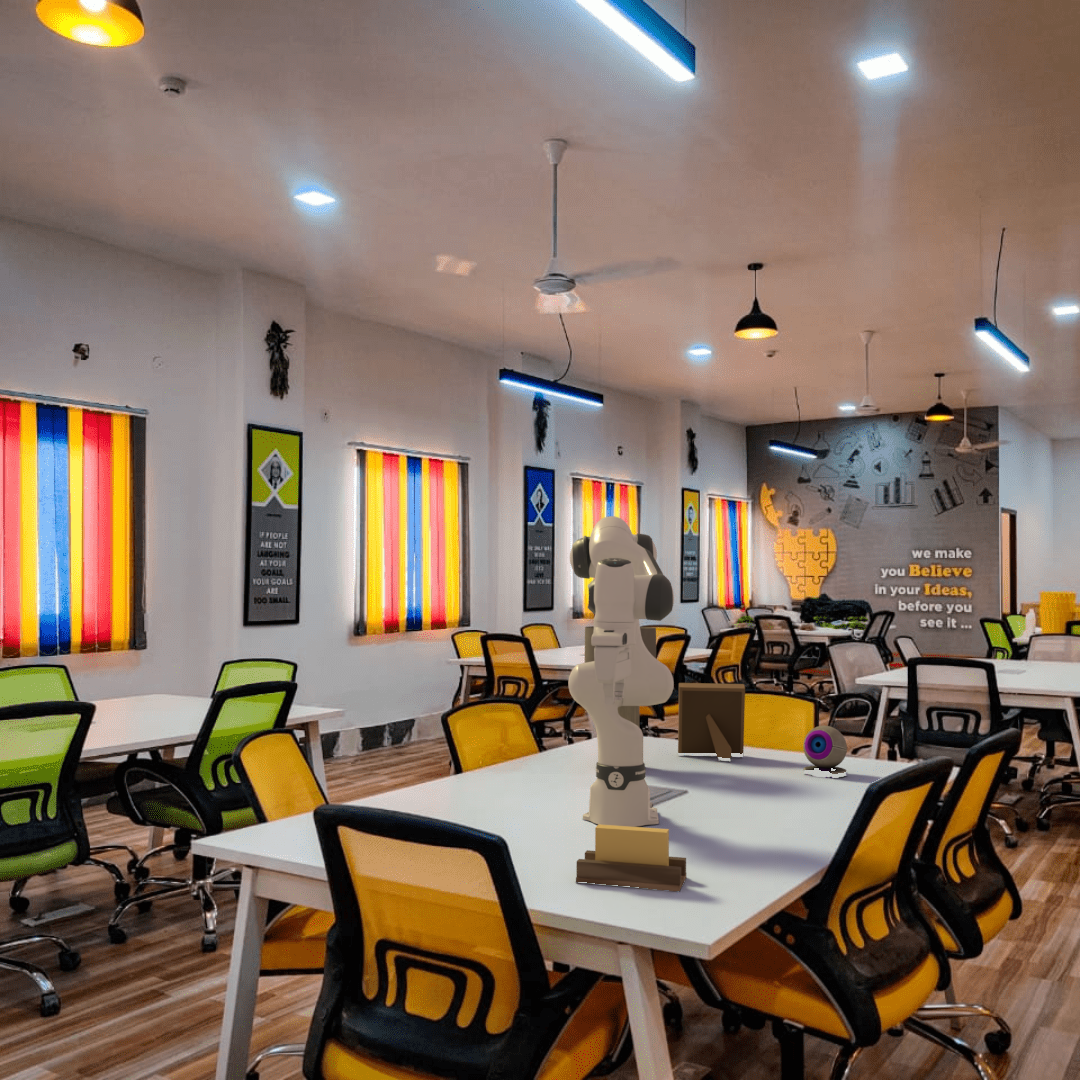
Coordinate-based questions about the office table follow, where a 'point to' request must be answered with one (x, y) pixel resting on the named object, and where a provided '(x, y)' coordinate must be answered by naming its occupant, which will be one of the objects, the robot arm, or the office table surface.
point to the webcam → (825, 749)
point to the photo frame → (711, 718)
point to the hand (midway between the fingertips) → (614, 702)
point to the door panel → (632, 844)
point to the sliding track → (632, 873)
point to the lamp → (650, 643)
